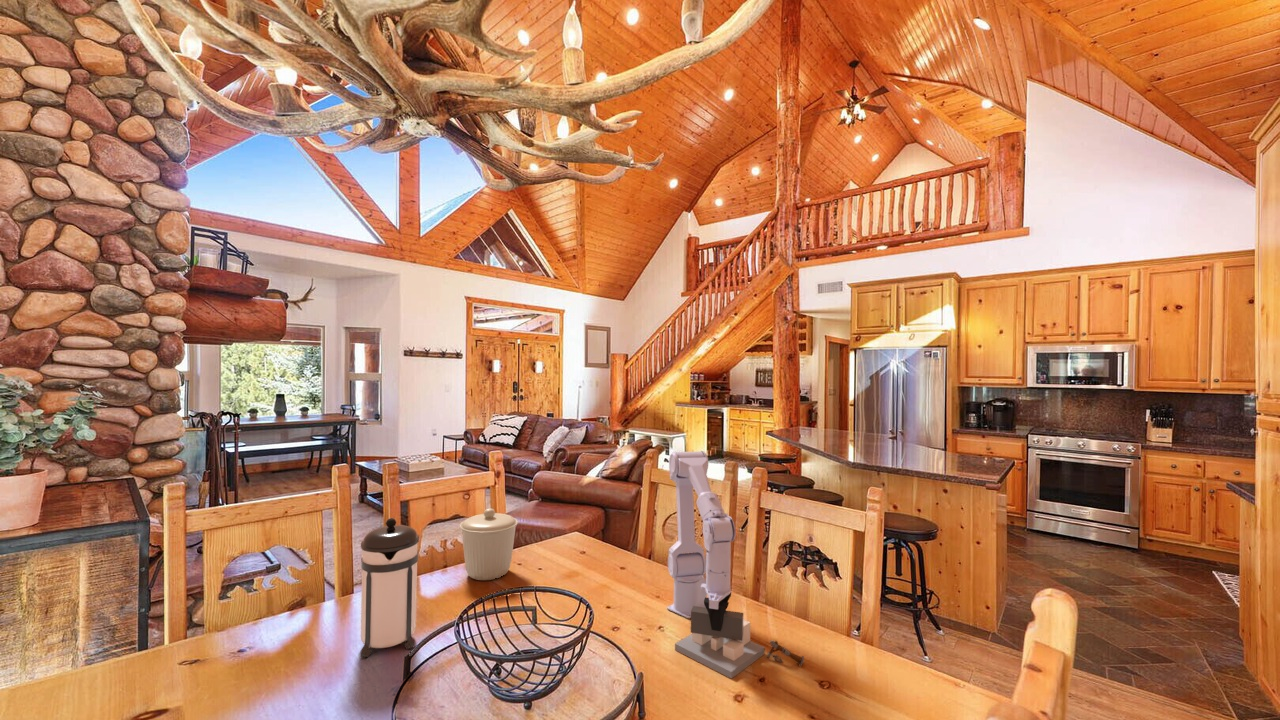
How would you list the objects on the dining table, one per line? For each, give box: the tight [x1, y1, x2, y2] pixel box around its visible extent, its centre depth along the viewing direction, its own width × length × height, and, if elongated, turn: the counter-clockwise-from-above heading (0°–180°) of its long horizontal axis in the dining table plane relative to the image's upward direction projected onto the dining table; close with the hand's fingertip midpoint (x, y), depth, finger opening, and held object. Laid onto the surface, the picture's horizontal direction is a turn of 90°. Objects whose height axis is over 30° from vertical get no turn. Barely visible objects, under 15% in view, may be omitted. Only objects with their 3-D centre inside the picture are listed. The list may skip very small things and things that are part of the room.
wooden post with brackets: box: [766, 639, 805, 667], centre depth 119 cm, size 2×8×4 cm, turn 74°
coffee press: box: [360, 517, 420, 659], centre depth 126 cm, size 17×16×30 cm
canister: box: [459, 507, 519, 581], centre depth 166 cm, size 18×18×21 cm
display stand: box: [674, 618, 766, 679], centre depth 123 cm, size 14×16×6 cm
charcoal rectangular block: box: [690, 606, 744, 641], centre depth 122 cm, size 3×12×5 cm, turn 74°
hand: (717, 626), depth 122 cm, fingers closed on charcoal rectangular block, 3 cm apart
